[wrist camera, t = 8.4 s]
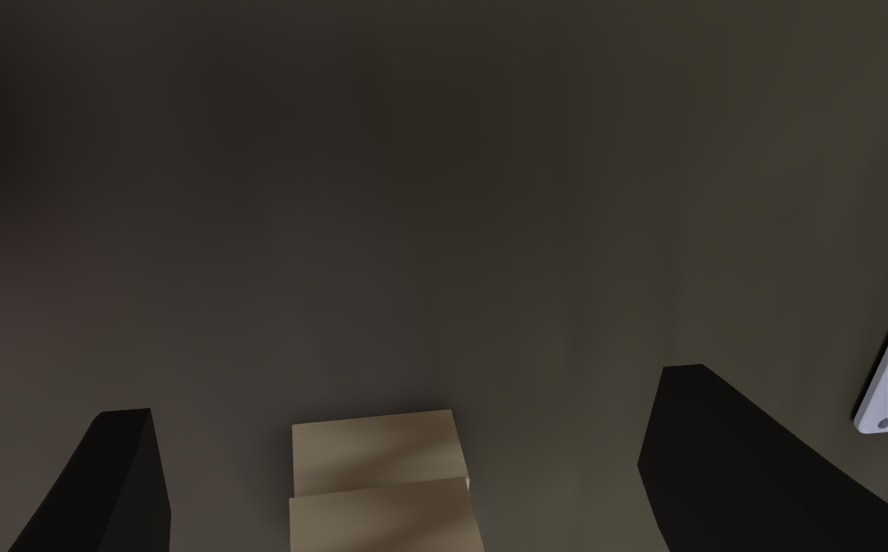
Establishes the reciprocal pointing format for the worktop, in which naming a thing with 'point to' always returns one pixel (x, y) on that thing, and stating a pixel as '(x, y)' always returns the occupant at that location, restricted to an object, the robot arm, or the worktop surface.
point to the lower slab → (375, 452)
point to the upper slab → (387, 519)
